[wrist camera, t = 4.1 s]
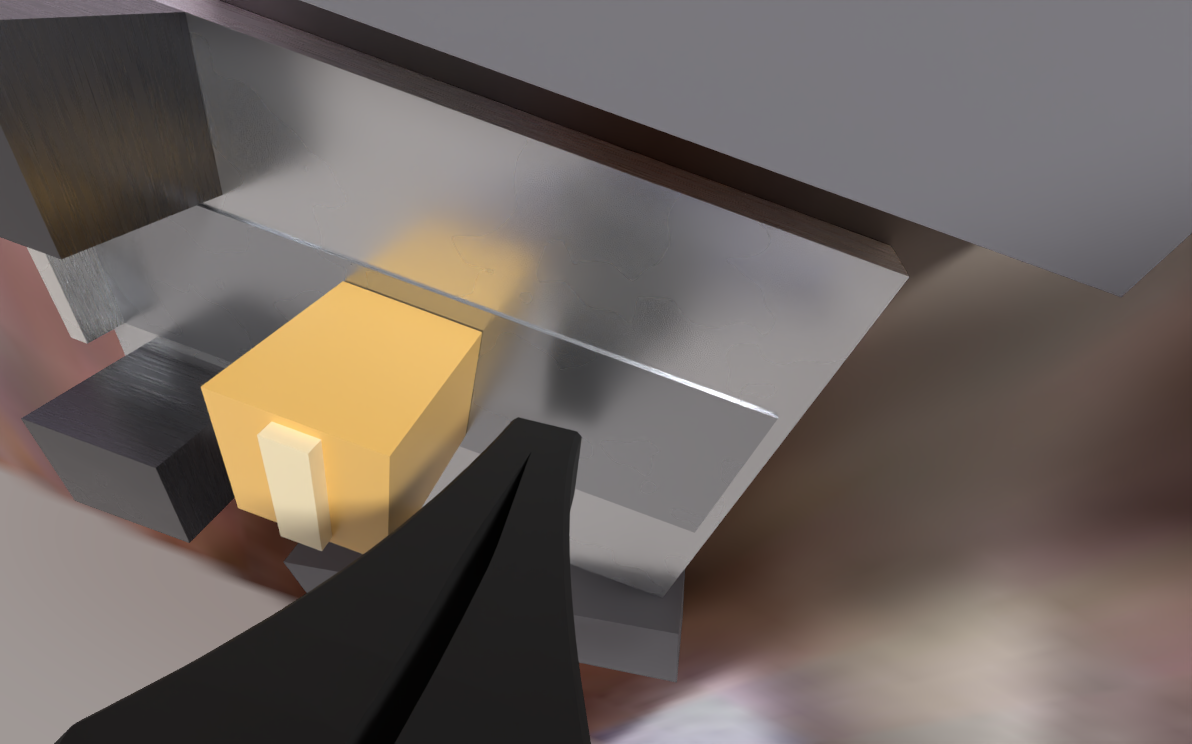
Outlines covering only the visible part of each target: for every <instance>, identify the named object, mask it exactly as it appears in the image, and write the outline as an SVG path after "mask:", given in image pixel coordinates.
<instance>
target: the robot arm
mask: <svg viewBox="0 0 1192 744" xmlns="http://www.w3.org/2000/svg"><path fill="white" fill-rule="evenodd" d="M581 440H582V436H581V435H580V434H579V433H578V432H577V431H574V430H570V429H565V428H561V427H557V426H553V425H549V424H545V423H540V422H536V421H532V420H528V419H524V418H520V417H518V418H516V419H514V420H512V421H511V422H510V424H509V425H508V426H507V427H506V428H505V429H504V430H503V431H502V432H501V433H500V434H499V436H498V437H497V438H496V439H495V440H494V441H493V442H492V443H491V444H490V445H489V446H488V447H487V448H486V449H485V450H484V451H483V452H482V453H481V454H480V455H479V456H478V457H477V458H476V459H475V460H474V461H473V462H472V463H471V464H470V465H469V466H468V467H467V468H466V469H465V470H463V471H462V472H461V473H460V474H459V475H458V476H457V477H456V478H455V479H454V480H453V481H452V482H451V483H449V484H448V485H447V486H446V487H445V488H444V489H443V490H442V491H441V492H440V493H439V494H437V495H436V496H435V497H434V498H433V499H432V500H430V501H429V502H428V503H427V504H426V505H425V506H423V507H422V508H421V509H420V510H419V511H417V512H416V513H415V514H414V515H413V516H411V517H410V518H409V519H408V520H407V521H405V522H404V523H403V524H402V525H401V526H399V527H398V528H397V529H396V530H394V531H393V532H392V533H391V534H389V535H388V536H387V537H385V538H384V539H383V540H382V541H380V542H379V543H378V544H376V545H375V546H374V547H372V548H371V549H370V550H368V551H367V552H366V553H364V554H363V555H361V556H360V557H359V558H357V559H356V560H355V561H353V562H352V563H350V564H349V565H348V566H346V567H345V568H343V569H342V570H341V571H339V572H338V573H336V574H335V575H333V576H332V577H330V578H329V579H327V580H326V581H324V582H323V583H321V584H320V585H318V586H317V587H315V588H314V589H312V590H311V591H309V592H308V593H306V594H305V595H303V596H302V597H300V598H299V599H297V600H296V601H294V602H293V603H291V604H289V605H288V606H286V607H285V608H283V609H282V610H280V611H278V612H277V613H275V614H274V615H272V616H270V617H269V618H267V619H265V620H263V621H262V622H260V623H258V624H257V625H255V626H253V627H251V628H250V629H248V630H246V631H245V632H243V633H241V634H240V635H238V636H236V637H235V638H233V639H231V640H229V641H228V642H226V643H224V644H223V645H221V646H219V647H218V648H216V649H214V650H212V651H211V652H209V653H207V654H206V655H204V656H202V657H200V658H198V659H197V660H195V661H193V662H191V663H189V664H188V665H186V666H184V667H182V668H180V669H179V670H177V671H175V672H173V673H171V674H169V675H167V676H165V677H163V678H161V679H160V680H157V681H155V682H154V683H152V684H150V685H148V686H146V687H144V688H142V689H140V690H138V691H136V692H135V693H133V694H131V695H129V696H127V697H125V698H123V699H121V700H119V701H117V702H116V703H113V704H111V705H110V706H108V707H106V708H104V709H102V710H100V711H98V712H96V713H94V714H92V715H90V716H88V717H86V718H84V719H82V720H81V721H79V722H77V723H76V724H74V725H73V726H71V727H70V728H69V729H68V730H67V732H66V733H64V734H63V735H62V736H61V737H60V738H59V739H58V740H57V741H56V743H54V744H591V742H590V735H589V729H588V722H587V716H586V709H585V703H584V696H583V690H582V683H581V677H580V669H579V661H578V652H577V644H576V635H575V625H574V614H573V603H572V589H571V570H570V536H569V533H570V510H571V506H572V502H573V498H574V493H575V486H576V478H577V470H578V463H579V455H580V448H581Z"/></svg>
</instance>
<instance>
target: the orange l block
mask: <svg viewBox="0 0 1192 744" xmlns="http://www.w3.org/2000/svg"><path fill="white" fill-rule="evenodd" d="M481 337H482V332H480V331H478V330H475V329H472V328H469V327H467V326H464V325H461V324H459V323H456V322H453V321H450V320H448V319H445V318H442V317H439V316H437V315H434V314H431V313H429V312H426V311H423V310H420V309H418V308H415V307H412V306H409V305H407V304H404V303H401V302H399V301H396V300H393V299H390V298H388V297H385V296H382V295H380V294H377V293H374V292H371V291H369V290H366V289H363V288H360V287H358V286H355V285H352V284H350V283H347V282H344V281H343V282H341V283H340V284H339V285H337V286H336V287H335V288H333V289H332V290H331V291H329V292H328V293H326V294H325V295H324V296H322V297H321V298H320V299H318V300H317V301H316V302H314V303H313V304H312V305H310V306H309V307H308V308H306V309H305V310H304V311H302V312H301V313H299V314H298V315H297V316H295V317H294V318H293V319H291V320H290V321H289V322H287V323H286V324H285V325H283V326H282V327H281V328H279V329H278V330H277V331H275V332H274V333H272V334H271V335H270V336H268V337H267V338H266V339H264V340H263V341H262V342H260V343H259V344H258V345H256V346H255V347H254V348H252V349H251V350H250V351H248V352H247V353H246V354H244V355H243V356H241V357H240V358H239V359H237V360H236V361H235V362H233V363H232V364H231V365H229V366H228V367H227V368H225V369H224V370H223V371H221V372H220V373H219V374H217V375H216V376H214V377H213V378H212V379H210V380H209V381H208V382H206V383H205V384H204V385H202V386H201V390H202V393H203V396H204V400H205V403H206V406H207V409H208V412H209V416H210V419H211V422H212V425H213V429H214V432H215V435H216V438H217V441H218V445H219V448H220V451H221V454H222V457H223V461H224V464H225V467H226V470H227V474H228V477H229V480H230V483H231V486H232V490H233V493H234V496H235V499H236V502H237V506H238V508H239V509H242V510H245V511H247V512H250V513H253V514H256V515H258V516H261V517H264V518H266V519H269V520H272V521H275V522H277V523H278V527H279V532H280V536H282V537H284V538H287V539H290V540H293V541H295V542H298V543H301V544H303V545H306V546H309V547H312V548H314V549H317V550H320V551H323V549H324V548H325V546H326V545H327V544H328V542H332V543H334V544H337V545H340V546H342V547H345V548H348V549H351V550H353V551H356V552H359V553H361V554H364V553H366V552H367V551H368V550H370V549H371V548H372V547H374V546H375V545H376V544H378V543H379V542H380V541H382V540H383V539H384V538H385V537H387V536H388V535H389V534H391V533H392V532H393V531H394V530H396V529H397V528H398V527H399V526H401V525H402V524H403V523H404V522H405V521H407V520H408V519H409V518H410V517H411V516H413V515H414V514H415V513H416V512H417V511H419V510H420V509H421V508H422V506H423V504H424V503H425V501H426V500H427V498H428V496H429V495H430V493H431V491H432V490H433V488H434V486H435V485H436V483H437V482H438V480H439V478H440V477H441V475H442V473H443V472H444V470H445V468H446V467H447V465H448V464H449V462H450V460H451V459H452V457H453V455H454V454H455V452H456V450H457V449H458V447H459V445H460V444H461V442H462V441H463V439H464V437H465V436H466V430H467V423H468V417H469V411H470V405H471V399H472V392H473V386H474V380H475V374H476V368H477V361H478V355H479V349H480V343H481Z"/></svg>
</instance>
